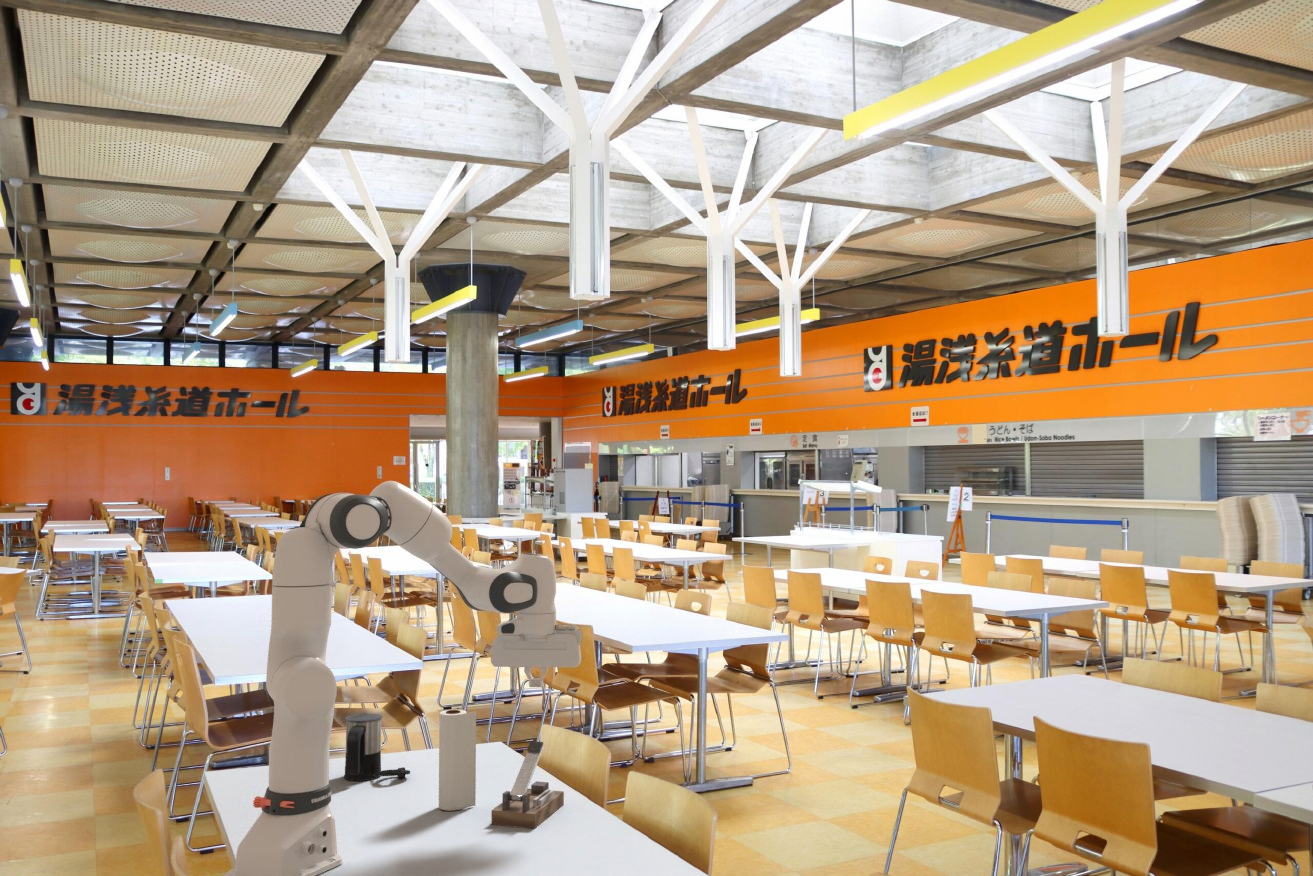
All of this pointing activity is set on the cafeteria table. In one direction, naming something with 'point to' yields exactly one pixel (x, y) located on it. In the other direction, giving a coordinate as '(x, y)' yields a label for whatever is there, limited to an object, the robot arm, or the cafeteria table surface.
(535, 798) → the wooden base lever press
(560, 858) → the cafeteria table surface
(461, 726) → the paper towel roll
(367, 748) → the milk frother
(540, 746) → the beige-grey bar
